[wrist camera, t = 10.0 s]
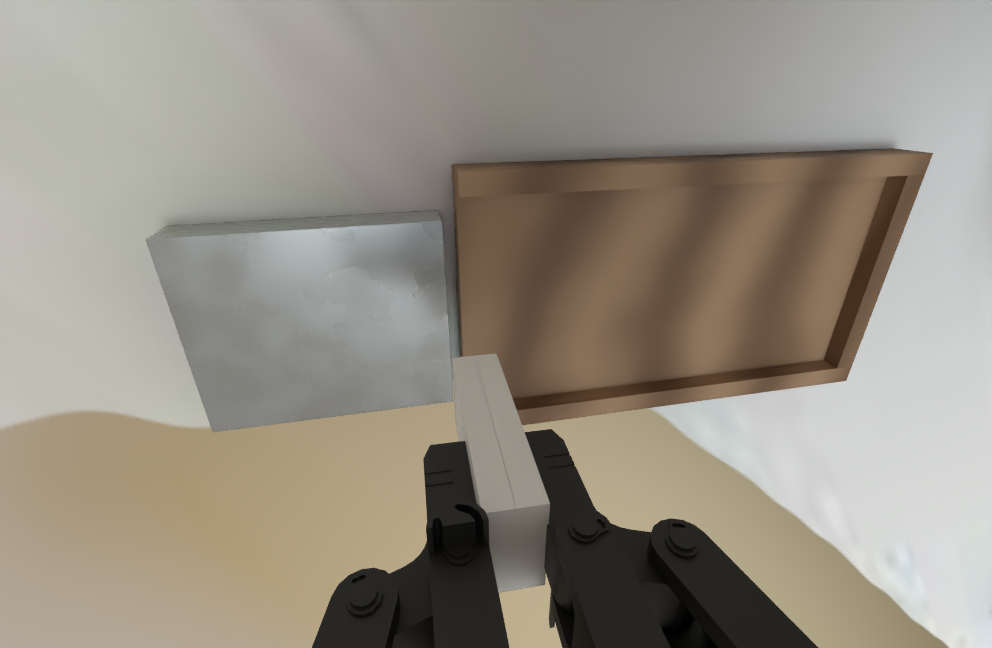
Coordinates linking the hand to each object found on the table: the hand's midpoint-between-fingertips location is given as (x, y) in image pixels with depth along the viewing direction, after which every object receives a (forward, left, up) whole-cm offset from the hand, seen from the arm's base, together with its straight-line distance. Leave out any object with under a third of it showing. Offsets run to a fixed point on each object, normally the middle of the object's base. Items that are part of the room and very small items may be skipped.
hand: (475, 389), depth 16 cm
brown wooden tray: (-11, 0, -8) cm, 14 cm away
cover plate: (+6, 0, -8) cm, 10 cm away
